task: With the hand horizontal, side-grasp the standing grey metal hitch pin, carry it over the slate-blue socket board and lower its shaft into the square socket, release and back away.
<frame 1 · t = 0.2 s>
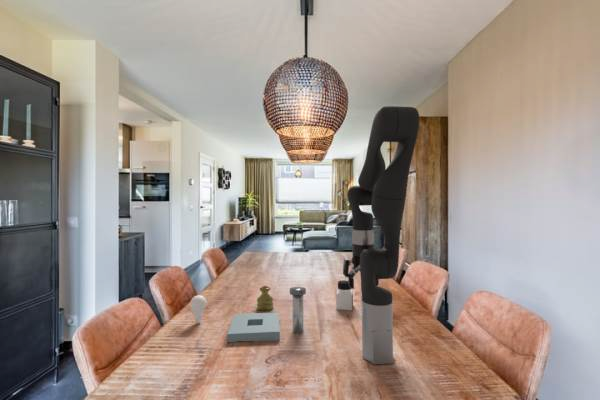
hand: (363, 287, 106), 18 cm above the table, tool pointing down, fingers open, 8 cm apart
brass weight: (265, 308, 135), on the table
lightbulb: (198, 323, 119), on the table
teacup: (377, 314, 127), on the table
socket board: (255, 330, 112), on the table
medicine bottle: (344, 307, 135), on the table
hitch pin: (298, 330, 111), on the table
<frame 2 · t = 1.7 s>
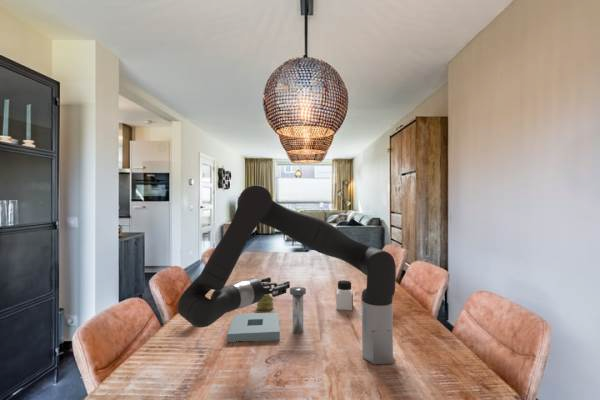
hand: (279, 282, 103), 20 cm above the table, tool horizontal, fingers open, 8 cm apart
nothing on the table moved.
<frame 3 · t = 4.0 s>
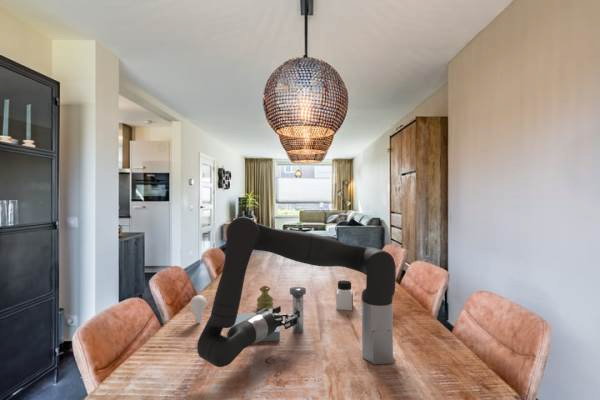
hand: (289, 311, 107), 9 cm above the table, tool horizontal, fingers open, 8 cm apart
nothing on the table moved.
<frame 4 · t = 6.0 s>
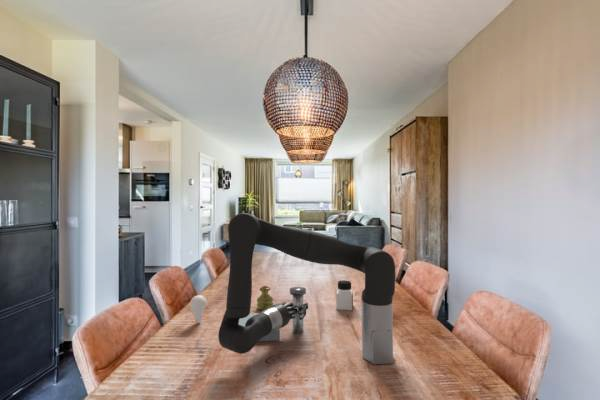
hand: (302, 304, 114), 9 cm above the table, tool horizontal, fingers closed on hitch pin, 4 cm apart
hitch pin: (298, 330, 111), on the table, touching gripper
everything else where it was.
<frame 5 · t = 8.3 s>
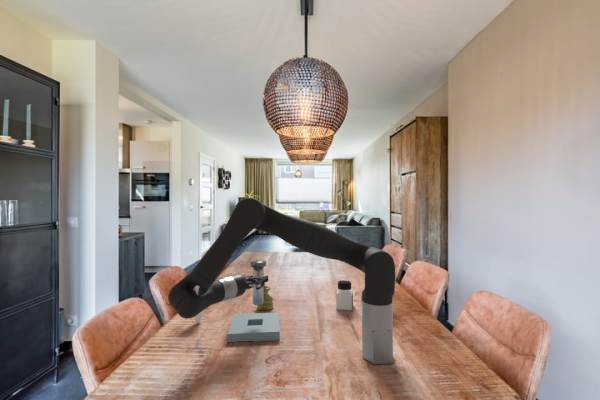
hand: (262, 277, 114), 19 cm above the table, tool horizontal, fingers closed on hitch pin, 4 cm apart
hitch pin: (257, 303, 112), point 10 cm above the table, touching gripper
everything else where it was.
when the fingers open (10 cm above the table, at t = 10.9 s): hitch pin drops 1 cm, resting in socket board.
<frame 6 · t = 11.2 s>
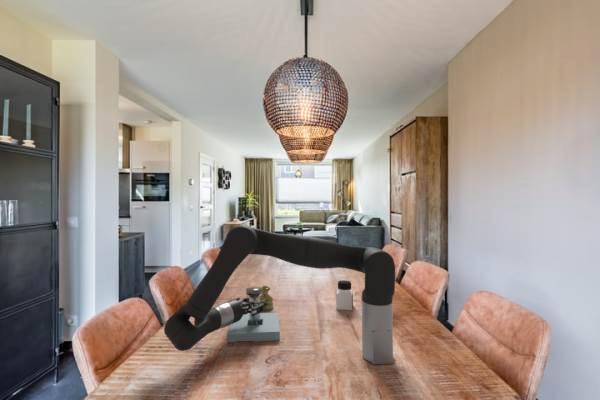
hand: (259, 300, 114), 11 cm above the table, tool horizontal, fingers open, 7 cm apart
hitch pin: (255, 330, 112), resting in socket board
everything else where it was.
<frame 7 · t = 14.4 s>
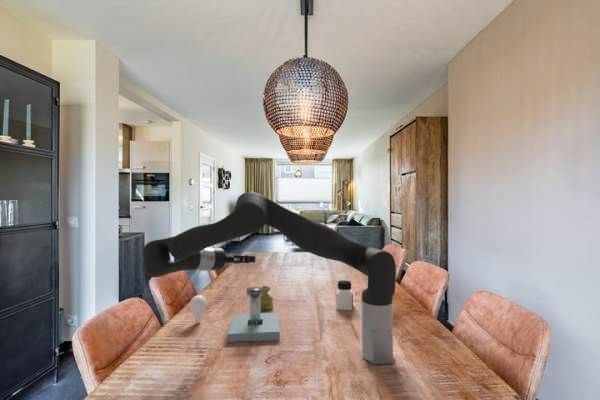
hand: (247, 259, 110), 27 cm above the table, tool horizontal, fingers open, 8 cm apart
nothing on the table moved.
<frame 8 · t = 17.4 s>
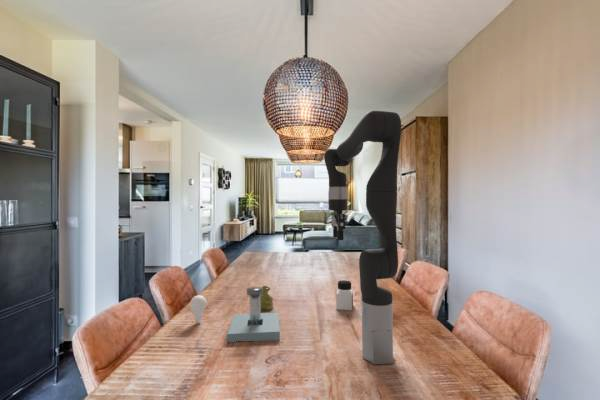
hand: (338, 238, 120), 33 cm above the table, tool pointing down, fingers open, 8 cm apart
nothing on the table moved.
at the end: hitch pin 0.1 cm off-centre on the socket board, point 0.0 cm above the socket board's base; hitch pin tilted 0°; the gripper is holding nothing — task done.
